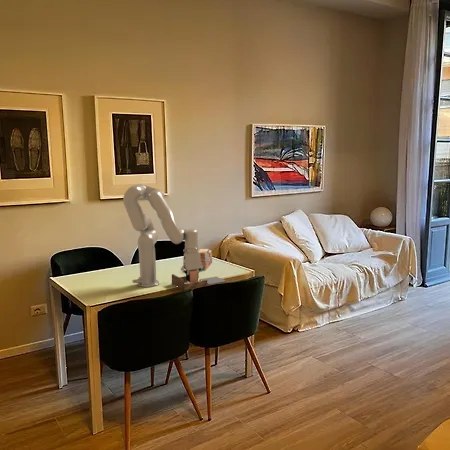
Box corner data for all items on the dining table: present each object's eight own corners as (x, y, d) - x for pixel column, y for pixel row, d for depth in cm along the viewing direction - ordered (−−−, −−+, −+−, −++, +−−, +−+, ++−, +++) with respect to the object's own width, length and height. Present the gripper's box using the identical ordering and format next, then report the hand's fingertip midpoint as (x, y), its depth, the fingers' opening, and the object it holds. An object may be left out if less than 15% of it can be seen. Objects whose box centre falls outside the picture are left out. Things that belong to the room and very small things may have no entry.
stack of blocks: (203, 262, 329) (203, 245, 327) (212, 262, 328) (212, 245, 326) (196, 270, 308) (196, 252, 306) (205, 270, 307) (205, 252, 305)
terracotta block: (190, 283, 272) (190, 271, 271) (186, 281, 276) (186, 269, 275) (198, 281, 275) (197, 270, 273) (194, 279, 279) (193, 268, 278)
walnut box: (182, 290, 264) (182, 280, 263) (171, 284, 277) (171, 274, 276) (207, 285, 273) (207, 276, 272) (195, 279, 285) (195, 270, 284)
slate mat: (209, 284, 275) (209, 284, 275) (199, 280, 285) (199, 279, 285) (226, 281, 281) (226, 280, 281) (216, 277, 291) (216, 276, 291)
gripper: (181, 253, 265) (182, 283, 268) (207, 249, 273) (207, 279, 276) (175, 250, 271) (176, 280, 274) (201, 247, 280) (202, 276, 283)
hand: (192, 279), depth 275 cm, fingers closed on terracotta block, 5 cm apart
